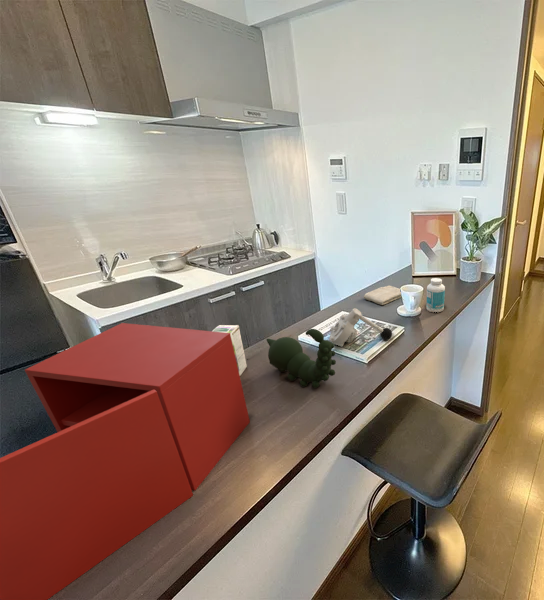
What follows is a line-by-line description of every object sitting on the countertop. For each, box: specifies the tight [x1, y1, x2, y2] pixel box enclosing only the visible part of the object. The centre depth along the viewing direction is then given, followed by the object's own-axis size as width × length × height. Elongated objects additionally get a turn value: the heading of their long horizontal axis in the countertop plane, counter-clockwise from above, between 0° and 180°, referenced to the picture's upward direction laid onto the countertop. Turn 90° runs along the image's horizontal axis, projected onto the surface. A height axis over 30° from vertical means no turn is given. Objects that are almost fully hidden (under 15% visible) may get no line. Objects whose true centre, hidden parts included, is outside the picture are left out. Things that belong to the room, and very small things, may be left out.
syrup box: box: [212, 324, 248, 376], centre depth 94 cm, size 6×6×14 cm
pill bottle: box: [426, 277, 446, 314], centre depth 136 cm, size 8×7×14 cm
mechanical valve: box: [329, 307, 393, 348], centre depth 113 cm, size 10×18×15 cm
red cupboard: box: [24, 322, 251, 491], centre depth 67 cm, size 18×26×24 cm
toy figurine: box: [265, 328, 337, 389], centre depth 91 cm, size 9×19×25 cm
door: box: [0, 390, 194, 600], centre depth 45 cm, size 7×26×24 cm, turn 144°
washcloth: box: [363, 284, 402, 306], centre depth 150 cm, size 12×18×3 cm, turn 140°
